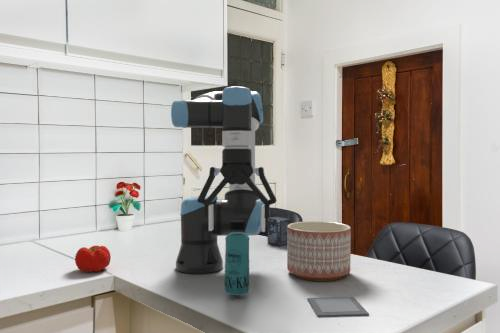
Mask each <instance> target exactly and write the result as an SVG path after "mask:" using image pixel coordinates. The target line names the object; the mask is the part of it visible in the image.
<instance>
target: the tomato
mask: <svg viewBox="0 0 500 333" xmlns="http://www.w3.org/2000/svg"><path fill="white" fill-rule="evenodd" d="M111 259H112V258H111V253H110V250H109V249H108V248H107V247H106V246H105V245H93V246H90V247H89V248H88V247H81V248H79V249H78V250H77V251H76V254H75V258H74V261H75V265H76V267H77V269H78V270H80V271H82V272H83V273H91V272H92V273H98V272H100V271H102V270H104V269H105V268H107V267H109V265H110V262H111Z"/></svg>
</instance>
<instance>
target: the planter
mask: <svg viewBox="0 0 500 333" xmlns="http://www.w3.org/2000/svg"><path fill="white" fill-rule="evenodd" d="M351 236H352V230H351V226H350V225H348V224H346V223H345V224H344V223H340V222H335V221H322V220H320V221H319V220H318V221H317V220H316V221H315V220H313V221H309V220H308V221H307V220H306V221H299V222H297V221H296V222H292V223H291V222H290V224H289V225H288V226H287V245H286V246H287V247H286V248H287V249H286V250H287V252H286V253H287V254H286V256H287V257H286V263H287V264H286V267H287V270H288V272H289V273H291V274H293V275H294V276H295V277H297V278H300V279H302V280H307V281H314V282H315V281H316V282H327V281H329V282H330V281H336V280H339V279H342V278H343V277H345V276H346V275H348V274H350V272H351V256H352V254H351V252H352V251H351V246H352V245H351V244H352V243H351V242H352V241H351V240H352V239H351V238H352V237H351Z"/></svg>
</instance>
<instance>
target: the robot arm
mask: <svg viewBox="0 0 500 333" xmlns="http://www.w3.org/2000/svg"><path fill="white" fill-rule="evenodd" d="M262 102H263V101H262V97H261V94H260V93H259V92H258V91H252V90H251V88H249V87H244V86H228V87H224V89H223V90H222V91H221V90H220V91H218V90H216V91H210V92H206V93H204V94H200V95H198V96H196V97H195V98H194V99H191V100H189V99H188V100H187V99H182V100H174V101H173V102H172V103H171V109H170V117H171V123H172V125H173V127H175V128H183V129H187V128H221V129H222V131H221V133H222V134H221V136H222V137H221V138H222V140H221V143H222V144H221V146H222V147H223V149H222V154H221V155H222V159H221V160H222V162H221V163H222V164H221V167H216V166H211V167H210V168H209V175H208V177H207V179H206V181H205V184H204V185H203V188H202V189H201V192H200V194H199V196H193V197H188V198H185V199H184V200H183V201H182V202H181V204H180V205H181V206H180V248H179V251H178V255H177V258H176V259H175V260H176V261H175V270H176V271H178V272H180V273H183V274H190V275H191V274H193V275H197V274H198V275H199V274H200V275H201V274H202V275H203V274H210V273H214V272H218V271H220V270H222V269H223V268H224V262H223V257H222V255H221V251H220V248H219V244H218V237H219V236H222V237H226V236H227V235H228V234H229V233H234V232H241V233H245V234H246V235H247V236H248V237H249V236H250V237H251V236H259V234H260V233H265V232H266V219H268V218H270V206H271V205H273V204H276V203H277V197H276V195H275V193H274V192H273V190H272V187H271V185H270V184H269V182H268V180H267V177H266V175H265V168H264V167H263V166H260V167H256V131H257V130H258V129H259V127H260V125H261V124H262V123H264V111H263V103H262ZM219 174H221V175H222V176H223V179H222V180H221V181H220V182H219V184H218V185H217V186H216V187H215V189H214V190H213V191H212V193H211V194H208V193H209V190H210V188H211V187H212V185H213V183H214V180H215V179H216V178H215V177H216V176H218V175H219ZM256 176H258V177H259V180H260V182H261V183H262V185H263V186H262V187H263V188H264V189H265V192H266V194H267V195H268V198H269V199H268V198H267V197H266V196H265V194H264V193H263V192H262V191H261V190H260V188H259V187H258V186H257V185H256ZM228 184H229V188H228V190H227V191H226V192H225V193H224V199H219V198H218V195H219V193H221V191H222V190H223V188H225V186H226V185H228ZM232 220H243V221H245V227H246V228H245V229H243V230H232V229H230V221H232Z"/></svg>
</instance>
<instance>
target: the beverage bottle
mask: <svg viewBox="0 0 500 333" xmlns="http://www.w3.org/2000/svg"><path fill="white" fill-rule="evenodd" d="M245 228H246V227H245V221H243V220H232V221H230V229H232V230H243V229H245ZM224 239H225V254H224V255H225V256H224V259H225V260H224V261H225V262H224V290H225V294H229V295H233V296H234V295H235V296H238V295H239V296H240V295H245V294H248V293H249V291H250V278H251V277H250V262H251V261H250V237H249V236H247V235H246V234H245V233H241V232H234V233H229V234H228V235H227V236H225V238H224Z"/></svg>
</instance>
